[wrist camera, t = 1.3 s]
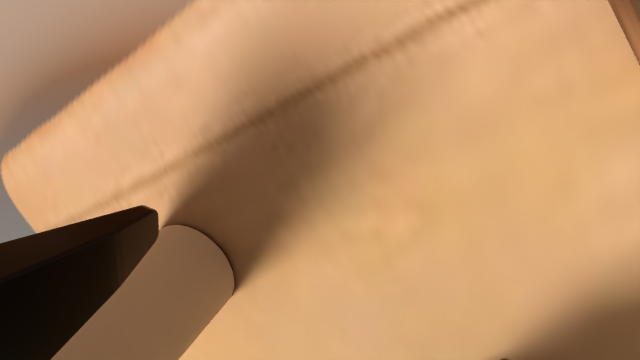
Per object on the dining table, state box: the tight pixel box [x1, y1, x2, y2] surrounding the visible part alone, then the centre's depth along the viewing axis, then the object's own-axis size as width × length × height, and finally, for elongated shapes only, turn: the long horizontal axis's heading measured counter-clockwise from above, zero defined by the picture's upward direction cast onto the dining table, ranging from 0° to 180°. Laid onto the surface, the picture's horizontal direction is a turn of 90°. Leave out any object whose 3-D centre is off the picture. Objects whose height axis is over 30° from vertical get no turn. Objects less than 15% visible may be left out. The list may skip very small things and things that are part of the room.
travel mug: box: [51, 225, 234, 360], centre depth 25 cm, size 8×8×18 cm
